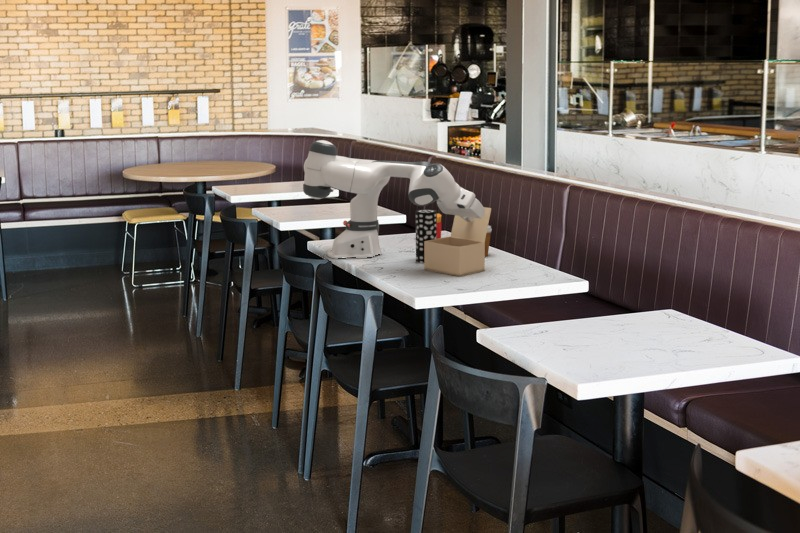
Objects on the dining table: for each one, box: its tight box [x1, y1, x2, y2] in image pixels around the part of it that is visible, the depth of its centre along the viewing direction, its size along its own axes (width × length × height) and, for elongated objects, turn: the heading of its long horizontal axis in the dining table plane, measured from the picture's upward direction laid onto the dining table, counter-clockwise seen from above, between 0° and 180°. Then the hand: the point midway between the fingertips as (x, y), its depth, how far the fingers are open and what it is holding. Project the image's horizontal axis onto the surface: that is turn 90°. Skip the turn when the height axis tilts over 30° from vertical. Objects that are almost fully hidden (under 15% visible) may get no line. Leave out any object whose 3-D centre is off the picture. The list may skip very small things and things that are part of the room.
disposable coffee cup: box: [485, 224, 493, 258], centre depth 394 cm, size 10×10×12 cm
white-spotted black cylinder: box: [415, 209, 438, 264], centre depth 383 cm, size 8×8×20 cm
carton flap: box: [450, 206, 492, 242], centre depth 370 cm, size 13×17×1 cm
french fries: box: [437, 213, 442, 239], centre depth 423 cm, size 9×4×13 cm, turn 27°
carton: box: [423, 236, 486, 278], centre depth 366 cm, size 14×18×11 cm
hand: (470, 220), depth 370 cm, fingers closed, pressing on carton flap
